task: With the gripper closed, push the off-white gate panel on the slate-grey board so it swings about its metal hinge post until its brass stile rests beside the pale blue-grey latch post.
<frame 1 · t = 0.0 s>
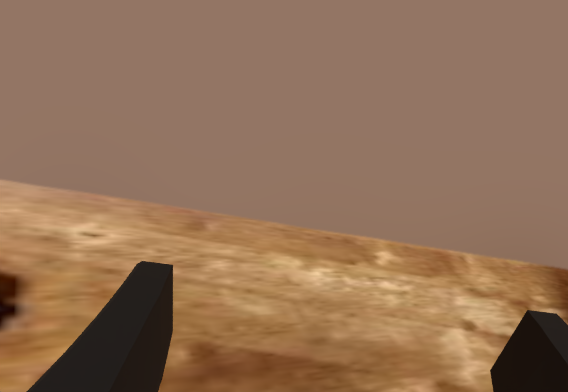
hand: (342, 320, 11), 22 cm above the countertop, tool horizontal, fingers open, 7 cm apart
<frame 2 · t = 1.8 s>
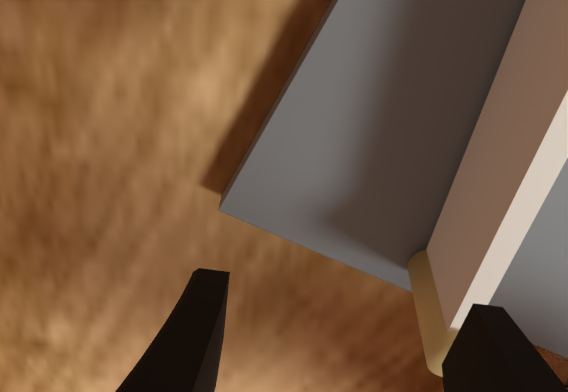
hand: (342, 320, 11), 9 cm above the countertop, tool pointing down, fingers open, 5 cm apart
gate: (501, 179, 15), point 4 cm above the countertop, hinge at 70.0°
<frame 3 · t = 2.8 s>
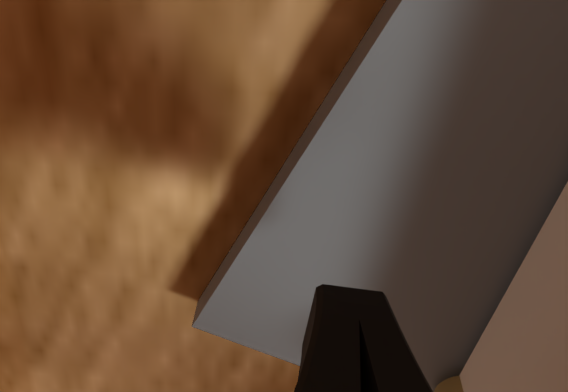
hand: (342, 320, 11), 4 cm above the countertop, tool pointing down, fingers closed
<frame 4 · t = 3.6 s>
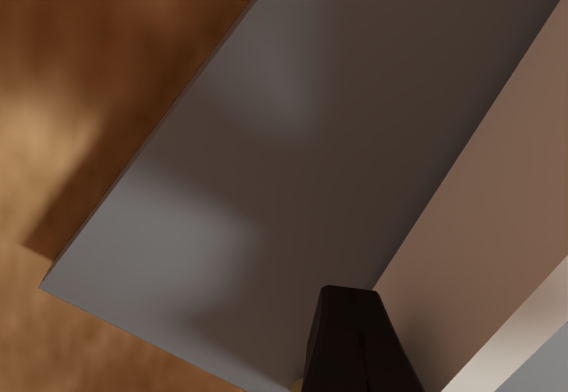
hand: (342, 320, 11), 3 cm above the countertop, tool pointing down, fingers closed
gate board: (553, 249, 14), on the countertop
gate: (422, 340, 11), point 4 cm above the countertop, hinge at 69.9°, touching gripper
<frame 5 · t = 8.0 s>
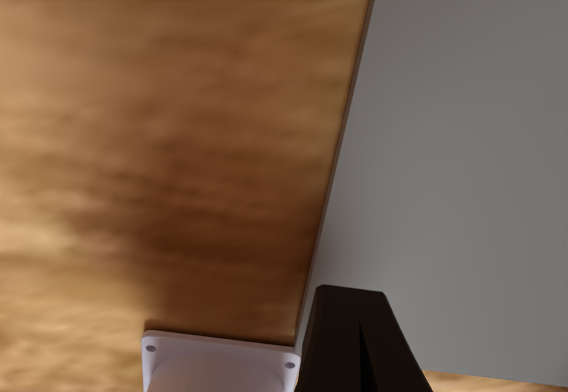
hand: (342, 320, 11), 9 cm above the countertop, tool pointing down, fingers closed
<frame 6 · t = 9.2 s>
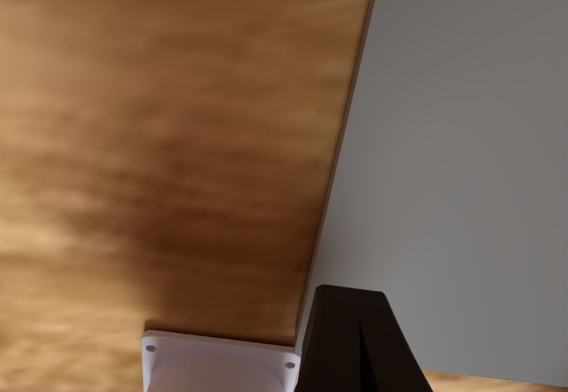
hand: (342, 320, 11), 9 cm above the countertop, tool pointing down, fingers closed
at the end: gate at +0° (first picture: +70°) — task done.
